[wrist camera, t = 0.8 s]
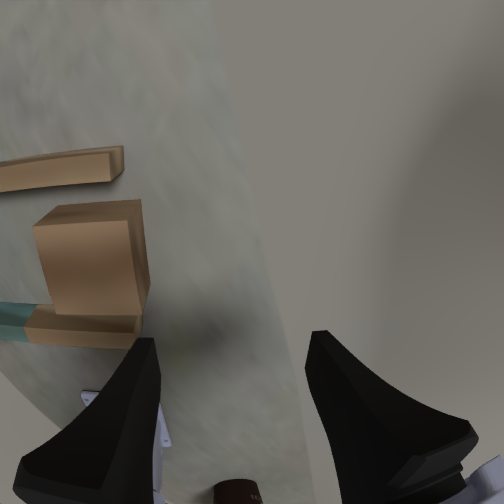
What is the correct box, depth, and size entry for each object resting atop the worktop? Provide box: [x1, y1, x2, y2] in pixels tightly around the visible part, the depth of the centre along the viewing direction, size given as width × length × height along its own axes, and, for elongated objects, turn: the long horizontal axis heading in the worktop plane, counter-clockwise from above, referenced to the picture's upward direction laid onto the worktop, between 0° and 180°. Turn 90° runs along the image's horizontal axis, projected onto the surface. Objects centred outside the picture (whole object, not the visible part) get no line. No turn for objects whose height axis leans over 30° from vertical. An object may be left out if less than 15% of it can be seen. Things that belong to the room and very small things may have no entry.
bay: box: [0, 146, 143, 349], centre depth 16 cm, size 17×14×6 cm
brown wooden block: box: [32, 199, 151, 315], centre depth 18 cm, size 6×6×4 cm
